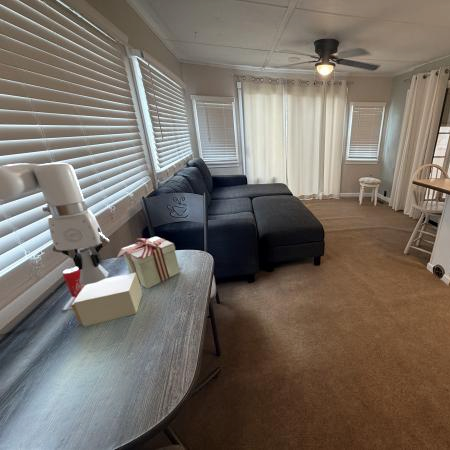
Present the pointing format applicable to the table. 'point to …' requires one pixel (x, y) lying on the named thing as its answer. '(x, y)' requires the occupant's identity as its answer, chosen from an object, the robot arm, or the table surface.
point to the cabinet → (109, 299)
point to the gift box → (151, 260)
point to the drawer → (71, 303)
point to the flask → (90, 269)
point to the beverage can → (73, 280)
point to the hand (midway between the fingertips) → (90, 265)
